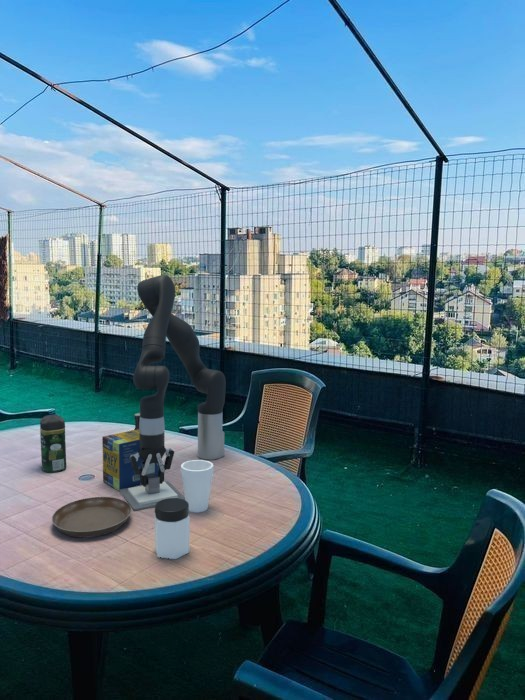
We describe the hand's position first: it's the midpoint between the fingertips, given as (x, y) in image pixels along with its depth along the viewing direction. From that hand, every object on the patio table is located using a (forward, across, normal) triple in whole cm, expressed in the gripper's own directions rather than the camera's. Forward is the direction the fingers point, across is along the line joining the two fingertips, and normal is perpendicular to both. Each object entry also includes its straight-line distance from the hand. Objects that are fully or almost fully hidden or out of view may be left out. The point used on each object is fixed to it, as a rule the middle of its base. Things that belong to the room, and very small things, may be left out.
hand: (152, 484), depth 162 cm
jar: (+4, +6, +34) cm, 35 cm away
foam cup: (+4, -9, +14) cm, 17 cm away
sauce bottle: (+4, -4, -24) cm, 24 cm away
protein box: (+4, +2, -15) cm, 15 cm away
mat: (+4, 0, 0) cm, 4 cm away
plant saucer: (+4, +20, +10) cm, 23 cm away
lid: (+3, 0, 0) cm, 3 cm away
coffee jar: (+4, +23, -38) cm, 45 cm away
